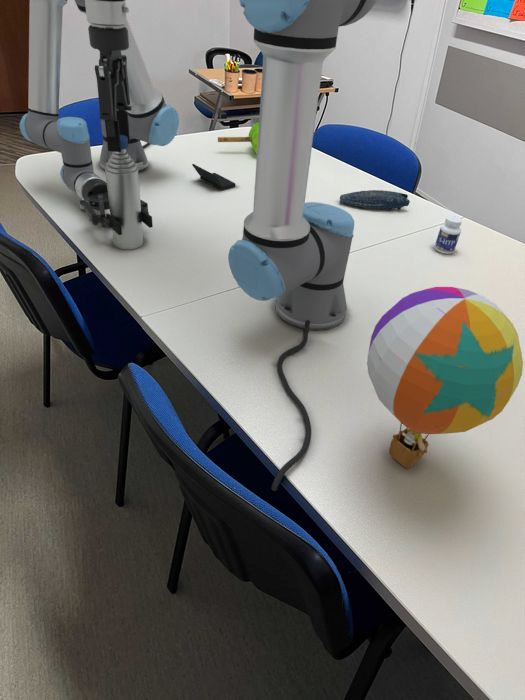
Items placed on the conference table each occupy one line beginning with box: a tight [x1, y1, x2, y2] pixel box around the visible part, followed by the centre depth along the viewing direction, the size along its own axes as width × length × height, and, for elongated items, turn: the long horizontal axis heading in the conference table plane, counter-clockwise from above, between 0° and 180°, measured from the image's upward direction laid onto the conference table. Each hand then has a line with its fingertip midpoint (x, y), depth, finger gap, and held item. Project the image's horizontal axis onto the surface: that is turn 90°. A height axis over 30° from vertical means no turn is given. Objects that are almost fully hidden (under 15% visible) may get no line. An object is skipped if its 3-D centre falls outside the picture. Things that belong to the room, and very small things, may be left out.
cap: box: [120, 135, 128, 150], centre depth 115 cm, size 4×4×2 cm
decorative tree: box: [217, 121, 259, 155], centre depth 187 cm, size 18×10×30 cm
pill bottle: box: [434, 215, 463, 255], centre depth 137 cm, size 5×5×9 cm
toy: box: [366, 286, 524, 469], centre depth 73 cm, size 20×20×30 cm
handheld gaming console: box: [191, 163, 236, 191], centre depth 163 cm, size 12×7×10 cm
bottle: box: [104, 149, 144, 250], centre depth 123 cm, size 7×7×25 cm
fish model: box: [339, 189, 411, 211], centre depth 158 cm, size 7×21×5 cm, turn 84°
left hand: (135, 225), depth 124 cm, fingers closed on bottle, 7 cm apart
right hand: (119, 146), depth 116 cm, fingers open, 6 cm apart
